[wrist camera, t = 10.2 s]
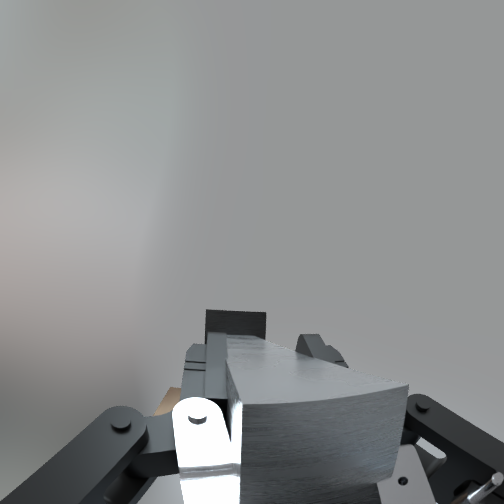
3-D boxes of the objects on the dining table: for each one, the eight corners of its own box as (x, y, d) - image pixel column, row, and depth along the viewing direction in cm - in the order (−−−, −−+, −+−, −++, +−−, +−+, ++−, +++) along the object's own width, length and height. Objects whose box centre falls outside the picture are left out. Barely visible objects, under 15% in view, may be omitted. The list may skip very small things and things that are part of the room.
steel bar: (256, 363, 25) (258, 313, 27) (417, 491, 3) (444, 277, 5) (205, 361, 25) (207, 310, 26) (183, 533, 3) (178, 264, 4)
